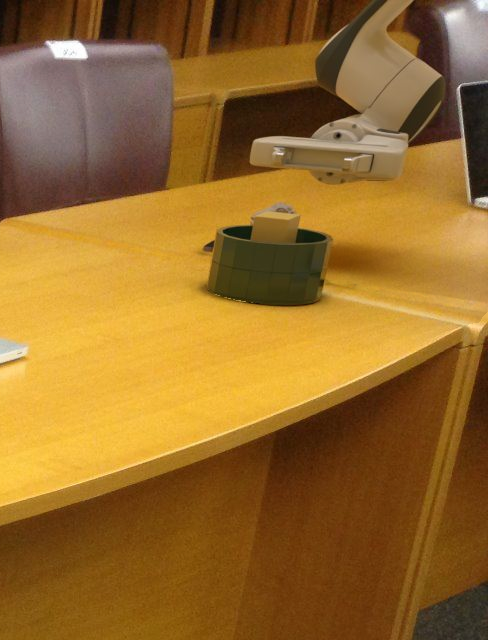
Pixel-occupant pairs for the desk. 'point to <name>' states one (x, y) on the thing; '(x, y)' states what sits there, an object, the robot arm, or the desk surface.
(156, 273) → the desk surface
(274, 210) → the frog figurine
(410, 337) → the desk surface
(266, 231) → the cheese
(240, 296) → the pot
